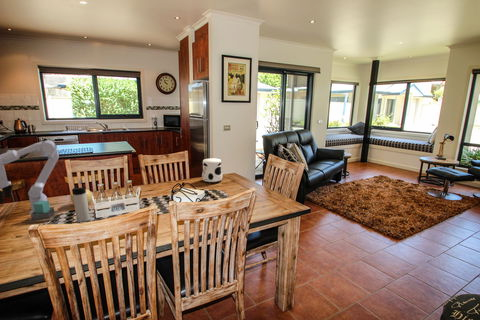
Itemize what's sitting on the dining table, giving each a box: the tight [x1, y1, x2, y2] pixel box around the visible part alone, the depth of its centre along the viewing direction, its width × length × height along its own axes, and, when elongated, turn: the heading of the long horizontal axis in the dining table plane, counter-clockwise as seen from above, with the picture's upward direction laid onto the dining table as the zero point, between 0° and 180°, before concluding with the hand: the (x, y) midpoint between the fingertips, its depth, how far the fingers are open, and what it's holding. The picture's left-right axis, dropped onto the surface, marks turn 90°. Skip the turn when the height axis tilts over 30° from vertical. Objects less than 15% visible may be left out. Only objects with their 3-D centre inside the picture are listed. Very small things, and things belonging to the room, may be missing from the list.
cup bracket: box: [28, 206, 57, 221], centre depth 146 cm, size 10×10×3 cm
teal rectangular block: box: [33, 200, 51, 214], centre depth 145 cm, size 5×5×8 cm
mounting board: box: [26, 210, 59, 225], centre depth 147 cm, size 13×11×1 cm
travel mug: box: [71, 186, 91, 224], centre depth 141 cm, size 6×7×20 cm
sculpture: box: [70, 188, 94, 205], centre depth 165 cm, size 12×12×11 cm
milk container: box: [201, 157, 224, 184], centre depth 214 cm, size 17×17×18 cm
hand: (4, 200), depth 147 cm, fingers open, 7 cm apart
